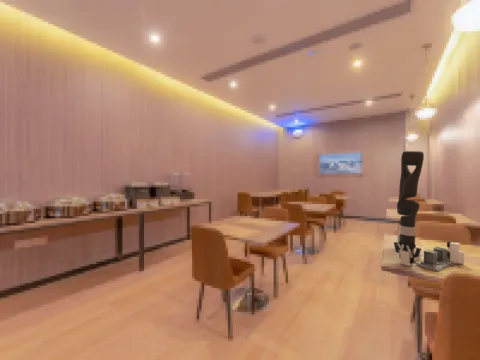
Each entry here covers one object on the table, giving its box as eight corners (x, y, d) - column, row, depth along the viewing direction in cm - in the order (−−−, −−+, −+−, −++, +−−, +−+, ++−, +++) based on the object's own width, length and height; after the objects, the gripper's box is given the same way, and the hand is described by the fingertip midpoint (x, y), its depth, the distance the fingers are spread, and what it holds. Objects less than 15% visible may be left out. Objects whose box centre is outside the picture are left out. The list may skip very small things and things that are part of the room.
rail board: (415, 265, 132) (416, 250, 132) (433, 258, 143) (433, 244, 142) (437, 271, 123) (437, 255, 123) (453, 264, 134) (454, 249, 134)
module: (400, 263, 134) (400, 249, 134) (404, 261, 136) (404, 248, 136) (408, 266, 130) (409, 252, 130) (413, 264, 132) (413, 250, 132)
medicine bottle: (442, 258, 142) (443, 240, 142) (456, 259, 140) (457, 241, 140) (449, 262, 136) (450, 243, 135) (464, 264, 134) (464, 244, 133)
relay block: (411, 260, 139) (411, 251, 139) (412, 258, 142) (412, 249, 142) (419, 262, 136) (419, 253, 136) (420, 260, 139) (420, 251, 139)
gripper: (390, 231, 137) (390, 258, 138) (418, 237, 124) (417, 267, 125) (397, 229, 141) (397, 256, 141) (424, 235, 128) (424, 264, 129)
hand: (406, 261), depth 133 cm, fingers closed on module, 4 cm apart
